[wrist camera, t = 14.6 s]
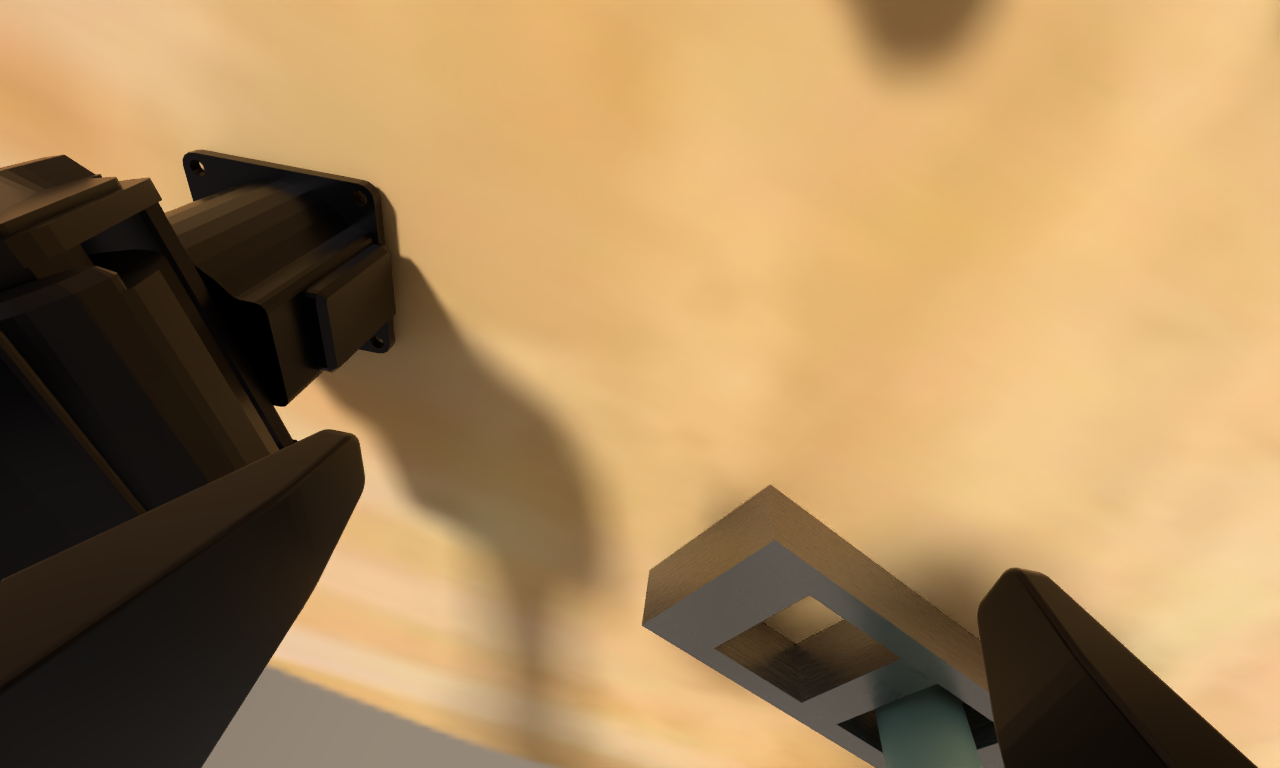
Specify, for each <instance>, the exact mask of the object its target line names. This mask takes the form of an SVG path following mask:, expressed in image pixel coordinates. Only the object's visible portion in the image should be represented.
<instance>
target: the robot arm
mask: <svg viewBox="0 0 1280 768" xmlns="http://www.w3.org/2000/svg"><path fill="white" fill-rule="evenodd" d="M199 162H200V163H201V164H202V165H203V166H204V168H205V171H204V170H203V169H202V168H201V166H200V164H199ZM183 166H184V170H185V174H186V177H187V181H188V184H189V188H190V191H191V195H192V198H193V202H192V203H189V204H187V205H184V206H182V207H179V208H177V209H174V210H171V211H169V212H166V213H164V211H163V210H162V208H161V206H160V204H159V203H158V202H159V201H161V200H162V199H161V197H160V195H159V193H158V191H157V190H156V188H155V186H154V184H153V183H152V181H151V179H150V178H141V179H132V180H124V181H118V179H117V178H116V177H106V178H102V176H101V175H100V174H97V175H95V174H94V173H92V172H91V171H89V170H87V169H86V168H84V167H83V166H81V165H80V164H78V163H77V162H75V161H73V160H72V159H70V158H69V157H67V156H66V155H59V156H51V157H44V158H40V159H36V160H31V161H27V162H23V163H19V164H15V165H11V166H7V167H2V168H0V768H202V766H203V764H204V763H205V761H206V760H207V758H208V757H209V755H210V753H211V752H212V750H213V749H214V747H215V746H216V744H217V742H218V741H219V739H220V738H221V736H222V734H223V733H224V731H225V730H226V728H227V727H228V725H229V723H230V722H231V720H232V719H233V717H234V716H235V714H236V713H237V711H238V709H239V708H240V706H241V705H242V703H243V702H244V700H245V698H246V697H247V695H248V694H249V692H250V691H251V689H252V687H253V686H254V684H255V683H256V681H257V679H258V678H259V676H260V675H261V673H262V672H263V670H264V668H265V667H266V665H267V664H268V662H269V661H270V659H271V657H272V656H273V654H274V653H275V651H276V650H277V648H278V646H279V645H280V643H281V642H282V640H283V639H284V637H285V635H286V634H287V632H288V631H289V629H290V628H291V626H292V624H293V623H294V621H295V620H296V618H297V617H298V615H299V613H300V612H301V610H302V609H303V607H304V605H305V604H306V602H307V600H308V599H309V597H310V595H311V594H312V592H313V590H314V588H315V587H316V585H317V583H318V581H319V579H320V577H321V575H322V573H323V571H324V569H325V567H326V565H327V563H328V561H329V559H330V557H331V555H332V553H333V551H334V549H335V547H336V545H337V543H338V541H339V539H340V537H341V535H342V533H343V531H344V529H345V527H346V525H347V523H348V521H349V519H350V517H351V515H352V513H353V511H354V509H355V506H356V504H357V502H358V500H359V498H360V496H361V494H362V492H363V489H364V484H365V473H364V467H363V461H362V455H361V448H360V443H359V440H358V438H357V437H356V436H355V435H353V434H351V433H346V432H341V431H336V430H331V429H326V430H322V431H320V432H317V433H315V434H313V435H311V436H309V437H307V438H305V439H302V440H300V441H297V440H293V439H292V438H291V436H290V434H289V432H288V431H287V429H286V427H285V425H284V423H283V422H282V420H281V418H280V416H279V415H278V413H277V411H276V409H275V408H274V406H273V405H275V406H280V407H281V406H286V405H287V404H289V403H290V402H291V401H292V400H293V399H294V398H295V397H296V396H297V395H298V394H299V393H300V392H301V391H302V390H304V389H305V388H306V387H307V386H308V385H309V384H310V383H311V382H312V381H313V380H314V379H315V378H316V377H318V376H319V375H320V374H321V373H322V372H323V371H325V372H330V373H332V372H334V371H336V370H337V369H338V368H340V367H341V366H342V365H343V364H344V363H345V362H346V361H347V360H348V359H349V358H350V357H351V356H352V355H353V354H354V353H355V352H356V351H357V350H358V349H360V350H365V351H370V352H375V353H385V352H387V351H388V350H389V349H390V348H391V347H392V346H393V345H394V342H395V336H394V327H393V316H394V315H395V313H396V309H395V299H394V289H393V279H392V269H391V259H390V252H389V251H388V249H387V248H386V246H385V240H384V230H383V220H382V210H381V201H380V196H379V192H378V191H377V189H376V188H375V186H373V185H372V184H371V183H370V182H367V181H364V180H360V179H354V178H349V177H344V176H339V175H333V174H328V173H323V172H317V171H312V170H307V169H302V168H296V167H291V166H286V165H280V164H275V163H270V162H265V161H259V160H254V159H249V158H243V157H238V156H233V155H228V154H222V153H217V152H212V151H206V150H195V151H192V152H189V153H187V154H185V155H184V157H183ZM358 191H360V192H362V193H363V194H364V195H365V196H366V199H367V203H365V202H363V201H362V200H361V199H360V198H359V195H358ZM376 336H377V337H379V338H381V339H382V340H383V343H382V342H380V341H379V340H378V339H377V338H376ZM977 619H978V627H979V633H980V640H981V646H982V652H983V659H984V665H985V671H986V678H987V684H988V690H989V697H990V703H991V709H992V715H993V721H994V726H995V731H996V736H997V740H998V744H999V748H1000V752H1001V756H1002V760H1003V764H1004V768H1258V767H1257V766H1256V765H1255V764H1253V763H1252V762H1251V761H1250V760H1249V759H1248V758H1247V757H1246V756H1245V755H1244V754H1243V753H1241V752H1240V751H1239V750H1238V749H1237V748H1236V747H1235V746H1234V745H1233V744H1232V743H1230V742H1229V741H1228V740H1227V739H1226V738H1225V737H1224V736H1223V735H1222V734H1221V733H1219V732H1218V731H1217V730H1216V729H1215V728H1214V727H1213V726H1212V725H1211V724H1210V723H1208V722H1207V721H1206V720H1205V719H1204V718H1203V717H1202V716H1201V715H1200V714H1199V713H1197V712H1196V711H1195V710H1194V709H1193V708H1192V707H1191V706H1190V705H1189V704H1188V703H1186V702H1185V701H1184V700H1183V699H1182V698H1181V697H1180V696H1179V695H1178V694H1177V693H1175V692H1174V691H1173V690H1172V689H1171V688H1170V687H1169V686H1168V685H1167V684H1166V683H1164V682H1163V681H1162V680H1161V679H1160V678H1159V677H1158V676H1157V675H1156V674H1155V673H1153V672H1152V671H1151V670H1150V669H1149V668H1148V667H1147V666H1146V665H1145V664H1144V663H1142V662H1141V661H1140V660H1139V659H1138V658H1137V657H1136V656H1135V655H1134V654H1133V653H1131V652H1130V651H1129V650H1128V649H1127V648H1126V647H1125V646H1124V645H1123V644H1122V643H1120V642H1119V641H1118V640H1117V639H1116V638H1115V637H1114V636H1113V635H1112V634H1111V633H1109V632H1108V631H1107V630H1106V629H1105V628H1104V627H1103V626H1102V625H1101V624H1100V623H1099V622H1097V621H1096V620H1095V619H1094V618H1093V617H1092V616H1091V615H1090V614H1089V613H1088V612H1086V611H1085V610H1084V609H1083V608H1082V607H1081V606H1080V605H1079V604H1078V603H1077V602H1075V601H1074V600H1073V599H1072V598H1071V597H1070V596H1069V595H1068V594H1067V593H1066V592H1064V591H1063V590H1062V589H1061V588H1060V587H1059V586H1058V585H1057V584H1056V583H1055V582H1053V581H1052V580H1051V579H1050V578H1049V577H1048V576H1046V575H1044V574H1042V573H1040V572H1035V571H1030V570H1025V569H1020V568H1010V569H1008V570H1006V571H1005V572H1004V573H1003V574H1002V575H1001V577H1000V578H999V579H998V580H997V582H996V583H995V584H994V586H993V587H992V588H991V589H990V591H989V592H988V593H987V595H986V596H985V597H984V598H983V600H982V601H981V603H980V605H979V608H978V616H977Z"/></svg>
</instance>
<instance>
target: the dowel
mask: <svg viewBox="0 0 1280 768" xmlns="http://www.w3.org/2000/svg"><path fill="white" fill-rule="evenodd" d="M874 710H875V715H876V720H877V725H878V730H879V735H880V740H881V745H882V750H883V755H884V760H885V765H886V768H983V767H982V764H981V760H980V757H979V754H978V751H977V748H976V745H975V742H974V739H973V736H972V733H971V730H970V726H969V723H968V720H967V717H966V714H965V711H964V708H963V705H962V702H961V699H959V698H958V697H956V696H955V695H953V694H952V693H951V692H949V691H948V690H946V689H945V688H943V687H942V686H941V685H939V684H935V685H933V686H930V687H928V688H925V689H923V690H920V691H918V692H915V693H913V694H910V695H908V696H905V697H903V698H901V699H898V700H896V701H893V702H891V703H888V704H886V705H883V706H881V707H878V708H876V709H874Z"/></svg>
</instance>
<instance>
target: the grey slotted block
mask: <svg viewBox="0 0 1280 768" xmlns="http://www.w3.org/2000/svg"><path fill="white" fill-rule="evenodd" d="M808 595H811V596H812V597H813V598H815V599H816V600H818V601H819V602H821V603H822V604H824V605H825V606H826V607H828V608H829V609H831V610H832V611H834V612H835V613H837V614H838V615H839V616H841V617H842V618H844V619H845V620H843V621H841V622H839V623H837V624H835V625H833V626H831V627H830V628H828V629H826V630H824V631H822V632H820V633H818V634H816V635H814V636H812V637H810V638H808V639H806V640H804V641H802V642H800V643H798V644H794V643H792V642H791V641H789V640H788V639H786V638H785V637H783V636H782V635H780V634H779V633H777V632H776V631H774V630H773V629H771V628H770V627H768V626H767V625H765V624H763V623H762V621H764V620H765V619H767V618H769V617H771V616H773V615H774V614H776V613H778V612H780V611H782V610H783V609H785V608H787V607H789V606H791V605H792V604H794V603H796V602H798V601H799V600H801V599H803V598H805V597H807V596H808ZM642 626H643V627H645V628H647V629H648V630H650V631H652V632H653V633H655V634H657V635H658V636H660V637H662V638H663V639H665V640H667V641H668V642H670V643H671V644H673V645H675V646H676V647H678V648H680V649H681V650H683V651H685V652H686V653H688V654H690V655H691V656H693V657H694V658H696V659H698V660H699V661H701V662H703V663H704V664H706V665H708V666H709V667H711V668H713V669H714V670H716V671H718V672H719V673H721V674H722V675H724V676H726V677H727V678H729V679H731V680H732V681H734V682H736V683H737V684H739V685H741V686H742V687H744V688H745V689H747V690H749V691H750V692H752V693H754V694H755V695H757V696H759V697H760V698H762V699H764V700H765V701H767V702H769V703H770V704H772V705H773V706H775V707H777V708H778V709H780V710H782V711H783V712H785V713H787V714H788V715H790V716H792V717H793V718H795V719H797V720H798V721H800V722H801V723H803V724H805V725H806V726H808V727H810V728H811V729H813V730H815V731H816V732H818V733H820V734H821V735H823V736H824V737H826V738H828V739H829V740H831V741H833V742H834V743H836V744H838V745H839V746H841V747H843V748H844V749H846V750H848V751H849V752H851V753H852V754H854V755H856V756H857V757H859V758H861V759H862V760H864V761H866V762H867V763H869V764H871V765H872V766H874V767H875V768H886V765H885V760H884V755H883V750H882V745H881V740H880V735H879V730H878V725H877V720H876V715H875V710H874V709H876V708H878V707H881V706H883V705H886V704H888V703H891V702H893V701H896V700H898V699H901V698H903V697H905V696H908V695H910V694H913V693H915V692H918V691H920V690H923V689H925V688H928V687H930V686H933V685H935V684H939V685H941V686H942V687H943V688H945V689H946V690H948V691H949V692H951V693H952V694H953V695H955V696H956V697H958V698H959V699H961V702H962V705H963V708H964V711H965V714H966V717H967V720H968V723H969V726H970V730H971V733H972V736H973V739H974V742H975V745H976V748H977V751H978V754H979V757H980V760H981V764H982V767H983V768H1004V764H1003V760H1002V756H1001V752H1000V748H999V744H998V740H997V736H996V731H995V726H994V721H993V715H992V709H991V703H990V697H989V690H988V684H987V678H986V671H985V665H984V659H983V652H982V646H981V641H979V640H978V639H977V638H975V637H974V636H973V635H971V634H970V633H969V632H967V631H966V630H965V629H963V628H962V627H961V626H959V625H958V624H957V623H955V622H954V621H952V620H951V619H950V618H948V617H947V616H946V615H944V614H943V613H942V612H940V611H939V610H938V609H936V608H935V607H934V606H932V605H931V604H930V603H928V602H927V601H926V600H924V599H923V598H922V597H920V596H919V595H918V594H916V593H915V592H914V591H912V590H911V589H910V588H908V587H907V586H905V585H904V584H903V583H901V582H900V581H899V580H897V579H896V578H895V577H893V576H892V575H891V574H889V573H888V572H887V571H885V570H884V569H883V568H881V567H880V566H879V565H877V564H876V563H875V562H873V561H872V560H871V559H869V558H868V557H867V556H865V555H864V554H862V553H861V552H860V551H858V550H857V549H856V548H854V547H853V546H852V545H850V544H849V543H848V542H846V541H845V540H844V539H842V538H841V537H840V536H838V535H837V534H836V533H834V532H833V531H832V530H830V529H829V528H828V527H826V526H825V525H824V524H822V523H821V522H820V521H818V520H817V519H815V518H814V517H813V516H811V515H810V514H809V513H807V512H806V511H805V510H803V509H802V508H801V507H799V506H798V505H797V504H795V503H794V502H793V501H791V500H790V499H789V498H787V497H786V496H785V495H783V494H782V493H781V492H779V491H778V490H777V489H775V488H774V487H773V486H771V485H769V486H768V487H767V488H765V489H764V490H762V491H761V492H760V493H758V494H757V495H755V496H754V497H753V498H751V499H750V500H748V501H747V502H745V503H744V504H743V505H741V506H740V507H738V508H737V509H736V510H734V511H733V512H731V513H730V514H729V515H727V516H726V517H724V518H723V519H722V520H720V521H719V522H717V523H716V524H714V525H713V526H712V527H710V528H709V529H707V530H706V531H705V532H703V533H702V534H700V535H699V536H698V537H696V538H695V539H693V540H692V541H691V542H689V543H688V544H686V545H685V546H684V547H682V548H681V549H679V550H678V551H676V552H675V553H674V554H672V555H671V556H669V557H668V558H667V559H665V560H664V561H662V562H661V563H660V564H658V565H657V566H655V567H654V568H653V569H651V570H650V571H649V578H648V585H647V592H646V599H645V607H644V614H643V621H642Z"/></svg>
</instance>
